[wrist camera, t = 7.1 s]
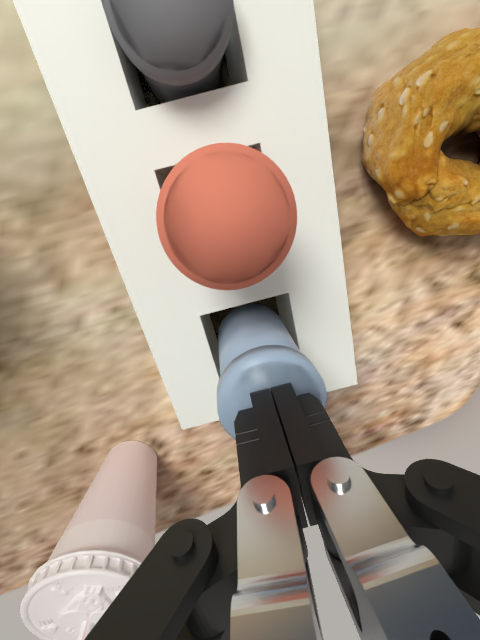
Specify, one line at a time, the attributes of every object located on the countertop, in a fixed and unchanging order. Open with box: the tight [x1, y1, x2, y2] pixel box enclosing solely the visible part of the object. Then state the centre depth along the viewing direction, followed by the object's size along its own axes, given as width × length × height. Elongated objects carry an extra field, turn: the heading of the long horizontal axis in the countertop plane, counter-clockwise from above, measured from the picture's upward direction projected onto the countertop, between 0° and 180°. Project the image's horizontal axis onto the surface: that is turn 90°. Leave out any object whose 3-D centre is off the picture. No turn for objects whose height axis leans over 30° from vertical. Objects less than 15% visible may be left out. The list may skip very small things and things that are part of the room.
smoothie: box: [20, 441, 157, 640], centre depth 18 cm, size 6×6×14 cm
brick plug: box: [156, 143, 297, 290], centre depth 12 cm, size 4×4×6 cm
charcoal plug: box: [103, 0, 234, 103], centre depth 13 cm, size 4×4×6 cm
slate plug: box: [217, 304, 327, 439], centre depth 14 cm, size 4×4×6 cm
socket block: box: [13, 0, 358, 430], centre depth 16 cm, size 21×10×5 cm, turn 14°
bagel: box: [362, 28, 480, 236], centre depth 16 cm, size 10×11×5 cm
